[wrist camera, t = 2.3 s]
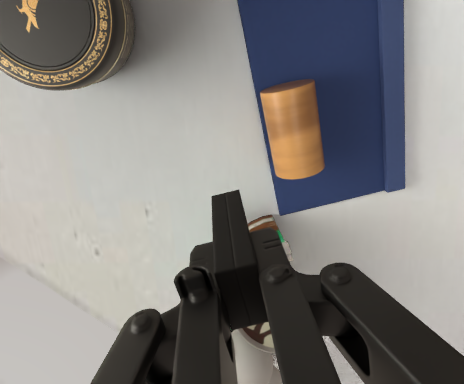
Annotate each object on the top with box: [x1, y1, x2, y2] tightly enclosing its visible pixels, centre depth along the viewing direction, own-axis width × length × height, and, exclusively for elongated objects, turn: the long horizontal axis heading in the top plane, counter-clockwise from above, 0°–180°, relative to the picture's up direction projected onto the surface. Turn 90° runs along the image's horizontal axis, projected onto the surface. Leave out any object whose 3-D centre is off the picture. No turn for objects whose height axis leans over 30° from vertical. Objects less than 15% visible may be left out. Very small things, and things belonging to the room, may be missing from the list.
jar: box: [0, 0, 135, 90], centre depth 23 cm, size 10×10×8 cm
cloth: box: [237, 0, 405, 216], centre depth 31 cm, size 22×14×1 cm, turn 13°
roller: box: [260, 79, 325, 179], centre depth 29 cm, size 8×5×5 cm, turn 13°
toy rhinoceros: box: [231, 329, 282, 384], centre depth 39 cm, size 7×12×8 cm, turn 34°
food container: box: [237, 215, 293, 354], centre depth 33 cm, size 12×6×10 cm, turn 6°
